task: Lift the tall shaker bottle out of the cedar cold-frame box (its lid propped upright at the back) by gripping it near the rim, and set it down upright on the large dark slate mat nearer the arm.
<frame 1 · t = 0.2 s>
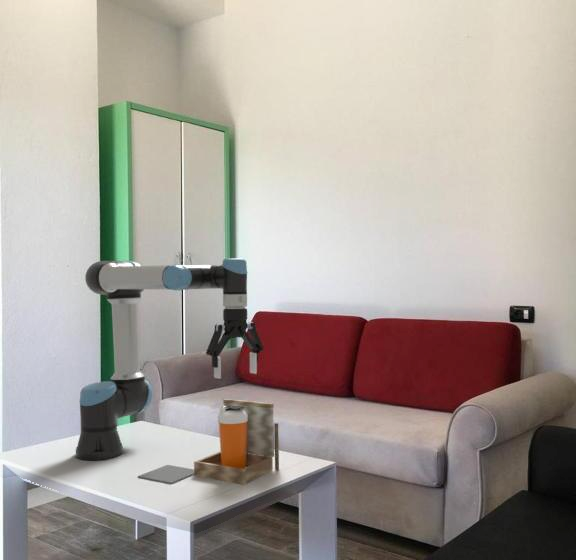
hand: (235, 375, 208), 28 cm above the table, fingers open, 13 cm apart
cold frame: (233, 472, 199), on the table
slate coaster: (169, 474, 198), on the table
shaker bottle: (233, 473, 199), resting in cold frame
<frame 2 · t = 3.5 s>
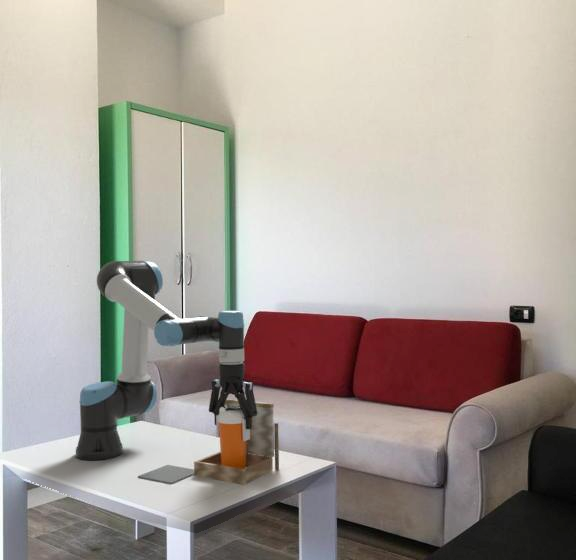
hand: (233, 437, 198), 10 cm above the table, fingers closed on shaker bottle, 9 cm apart
shaker bottle: (233, 473, 199), resting in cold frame, touching gripper
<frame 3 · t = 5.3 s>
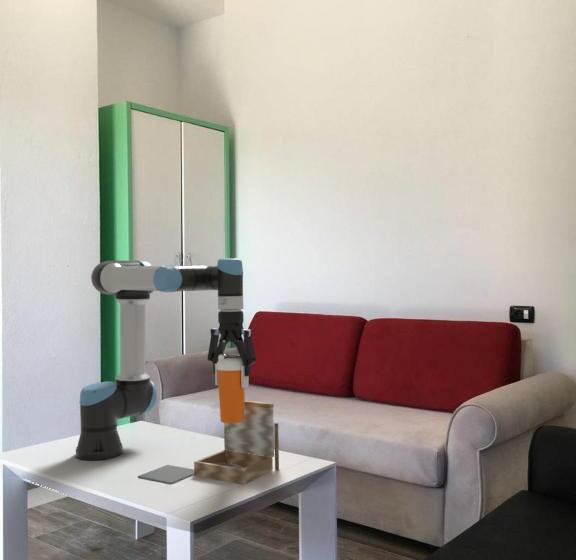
hand: (231, 385, 198), 26 cm above the table, fingers closed on shaker bottle, 9 cm apart
shaker bottle: (232, 421, 199), point 15 cm above the table, touching gripper
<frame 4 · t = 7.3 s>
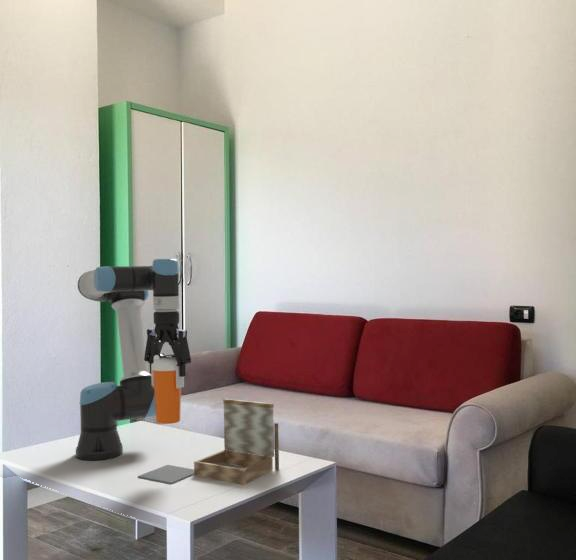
hand: (167, 386, 198), 26 cm above the table, fingers closed on shaker bottle, 9 cm apart
shaker bottle: (168, 421, 198), point 16 cm above the table, touching gripper
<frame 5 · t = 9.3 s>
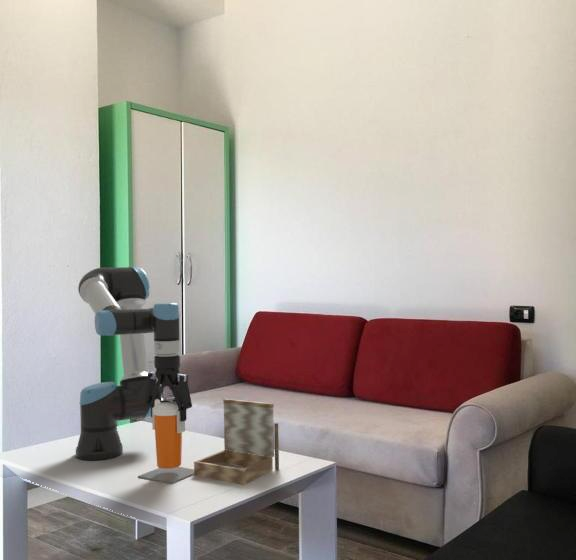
hand: (168, 430, 198), 13 cm above the table, fingers closed on shaker bottle, 9 cm apart
shaker bottle: (169, 465, 198), point 3 cm above the table, touching gripper
when the fingers open (12 cm above the table, at t = 11.0 s): shaker bottle stays where it is, resting on slate coaster.
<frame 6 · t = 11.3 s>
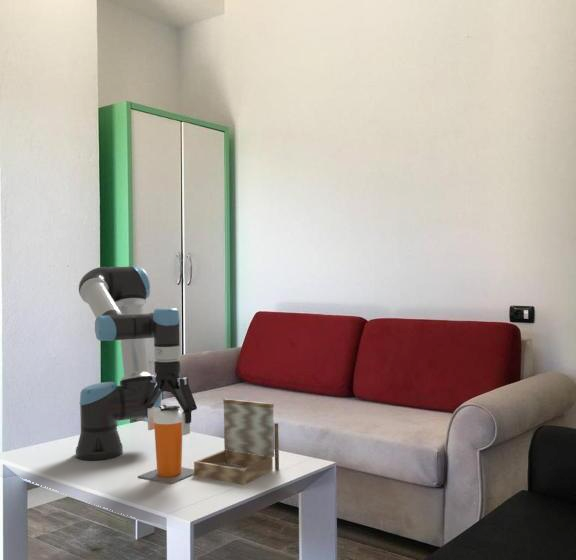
hand: (168, 431, 198), 13 cm above the table, fingers open, 13 cm apart
shaker bottle: (169, 473, 198), resting on slate coaster
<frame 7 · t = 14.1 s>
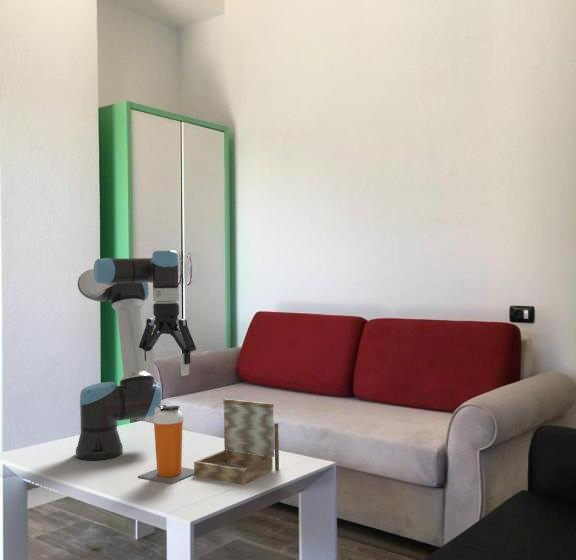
hand: (167, 373, 198), 30 cm above the table, fingers open, 13 cm apart
nothing on the table moved.
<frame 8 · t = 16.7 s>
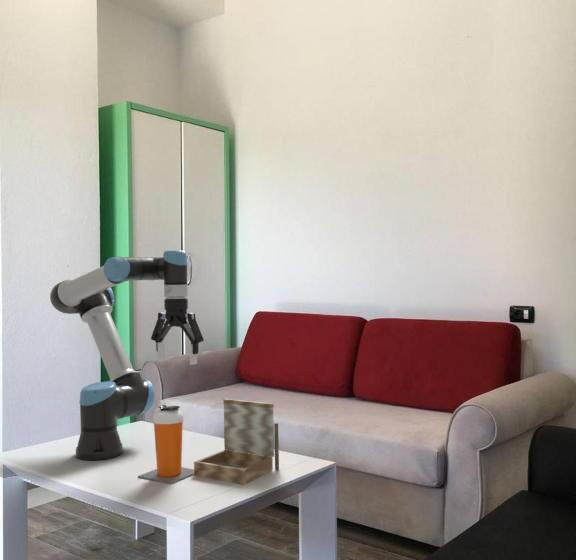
hand: (177, 363, 216), 31 cm above the table, fingers open, 13 cm apart
nothing on the table moved.
at the end: shaker bottle inside the target area on the slate coaster (0.1 cm from its centre), point 0.2 cm above the slate coaster's base; shaker bottle tilted 0°; the gripper is holding nothing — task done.
